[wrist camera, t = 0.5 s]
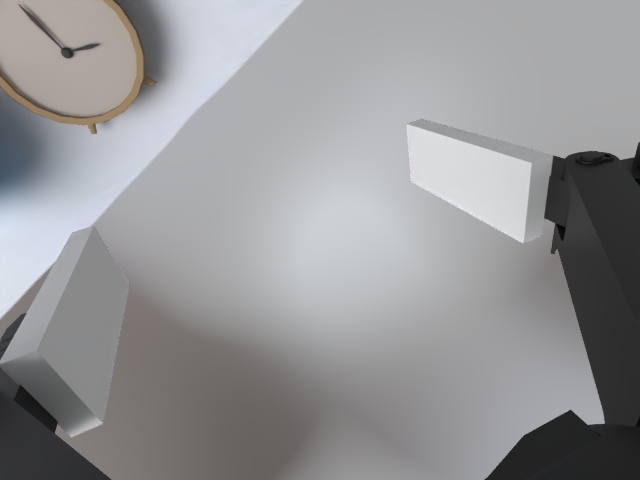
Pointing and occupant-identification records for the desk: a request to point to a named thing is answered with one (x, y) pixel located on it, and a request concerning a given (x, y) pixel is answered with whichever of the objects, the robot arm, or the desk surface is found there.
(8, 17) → the alarm clock
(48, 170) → the desk surface
